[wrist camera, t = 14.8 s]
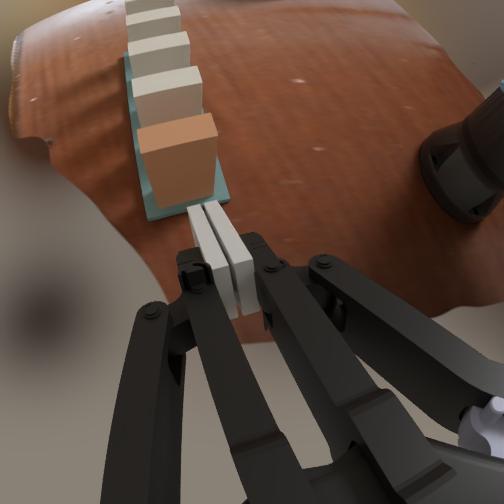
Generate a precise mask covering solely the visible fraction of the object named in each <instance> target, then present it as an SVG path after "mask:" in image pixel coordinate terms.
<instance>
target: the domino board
mask: <svg viewBox="0 0 504 504" xmlns="http://www.w3.org/2000/svg"><path fill="white" fill-rule="evenodd" d="M124 64H125V75H126V85H127V94H128V103H129V111H130V119H131V126H132V134H133V141H134V147H135V154H136V160H137V166H138V172H139V178H140V183H141V189H142V194H143V200H144V205H145V210H146V215H147V219H148V222H149V221H153V220H157V219H161V218H165V217H168V216H172V215H176V214H180V213H184V212H188V211H187V207H189V206H193V205H197V204H200V205H201V207H202V208H204V203H206V202H210V201H214V200H217V201H218V203H219V204H221V203H225V202H229V201H230V196H229V193H228V190H227V186H226V183H225V180H224V177H223V173H222V170H221V167H220V164H219V160H218V157H217V158H216V170H215V184H214V195H212V196H208V197H204V198H200V199H196V200H192V201H188V202H185V203H181V204H177V205H173V206H169V207H165V208H162V209H159V208H158V206H157V203H156V200H155V197H154V194H153V191H152V188H151V185H150V182H149V179H148V175H147V172H146V169H145V166H144V163H143V160H142V156H141V153H140V147H139V141H138V135H137V129H141V126H140V122H139V118H138V114H137V110H136V106H135V101H134V97H133V89H132V81H131V79H133V74H132V69H131V64H130V59H129V52H128V51H127V52H124ZM202 114H204V111H203V108H202Z"/></svg>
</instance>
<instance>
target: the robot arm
mask: <svg viewBox="0 0 504 504" xmlns="http://www.w3.org/2000/svg"><path fill="white" fill-rule="evenodd" d="M420 165H421V170H422V173H423V176H424V179H425V181H426V183H427V186H428V188H429V189H430V191H431V193H432V194H433V196H434V197H435V199H436V200H437V202H438V203H439V204H440V205H441V206H442V207H443V209H444V210H445V211H447V212H448V213H449V214H450V215H451V216H453V217H454V218H456V219H458V220H459V221H462V222H465V223H475V222H477V221H479V220H481V219H483V218H485V217H487V216H488V215H489V214H490V213H491V212H492V211H493V210H494V208H495V207H496V206H497V205H498V203H499V202H500V201H501V199H502V198H503V197H504V80H503V81H502V82H501V83H500V87H499V88H498V89H496V90H495V91H494V92H493V93H492V94H491V95H490V96H489V97H488V98H487V99H486V100H485V101H484V102H482V103H481V104H480V105H479V106H478V107H477V108H476V109H475V110H474V111H473V112H472V113H471V114H470V115H469V116H467V117H466V118H465V119H464V120H463V121H461V122H458V123H455V124H452V125H449V126H446V127H444V128H441V129H438V130H436V131H434V132H433V133H432V134H431V135H430V136H429V137H428V138H427V139H425V141H424V142H423V143H422V146H421V149H420ZM204 207H205V213H206V216H205V214H204V212H203V210H202V207H201V205H200V204H197V205H193V206H189V207H187V211H188V216H189V220H190V225H191V229H192V233H193V238H194V242H195V248H191V249H187V250H183V251H180V252H179V253H178V255H177V257H176V260H177V265H178V270H179V271H178V278H179V281H180V285H181V288H182V294H181V296H180V297H179V298H178V299H177V300H176V301H174V302H173V303H171V304H169V305H167V304H166V303H164V302H161V301H154V302H150V303H147V304H146V305H144V306H142V307H141V308H140V309H139V310H138V312H137V314H136V318H135V322H134V325H133V329H132V333H131V337H130V341H129V345H128V349H127V353H126V358H125V362H124V366H123V371H122V375H121V380H120V384H119V389H118V394H117V399H116V404H115V409H114V414H113V420H112V425H111V431H110V436H109V442H108V449H107V455H106V461H105V468H104V475H103V483H102V492H101V500H100V504H180V484H181V480H180V479H181V478H180V477H181V442H182V418H183V398H184V381H185V380H184V379H185V366H186V352H187V351H189V350H191V349H192V348H194V347H196V346H197V347H198V350H199V354H200V357H201V361H202V364H203V368H204V371H205V374H206V377H207V381H208V384H209V387H210V390H211V394H212V397H213V400H214V403H215V406H216V409H217V412H218V415H219V418H220V421H221V424H222V427H223V430H224V433H225V436H226V439H227V442H228V444H229V447H230V452H231V455H232V458H233V461H234V463H235V467H236V469H237V472H238V475H239V477H240V480H241V482H242V485H243V488H244V490H245V493H246V495H247V499H246V500H245V501H244V502H243V503H242V504H504V364H501V363H498V362H495V361H492V360H489V359H488V358H486V357H485V356H483V355H482V354H481V353H479V352H478V351H476V350H475V349H474V348H472V347H471V346H469V345H468V344H466V343H465V342H464V341H462V340H461V339H459V338H458V337H456V336H455V335H454V334H452V333H450V332H449V331H448V330H446V329H445V328H443V327H442V326H440V325H439V324H438V323H436V322H435V321H433V320H432V319H430V318H429V317H427V316H426V315H424V314H423V313H421V312H420V311H418V310H417V309H415V308H414V307H412V306H411V305H409V304H408V303H406V302H405V301H403V300H402V299H400V298H399V297H397V296H396V295H394V294H393V293H391V292H390V291H388V290H387V289H385V288H384V287H382V286H381V285H379V284H377V283H376V282H374V281H373V280H371V279H370V278H368V277H367V276H365V275H364V274H362V273H360V272H359V271H357V270H356V269H354V268H353V267H351V266H349V265H348V264H346V263H345V262H343V261H341V260H340V259H338V258H337V257H335V256H332V255H328V254H321V255H317V256H314V257H312V258H311V259H310V261H309V266H300V267H293V266H290V265H289V263H288V262H287V261H285V260H283V259H280V258H277V257H276V255H275V254H274V253H273V251H272V250H271V248H270V247H269V246H268V244H267V243H266V242H265V240H264V239H263V238H262V236H261V235H259V234H257V233H255V232H250V233H246V234H242V235H238V233H237V232H236V230H235V229H234V227H233V225H232V224H231V222H230V220H229V219H228V217H227V216H226V214H225V212H224V211H223V209H222V207H221V206H220V204H219V203H218V201H217V200H214V201H210V202H206V203H204ZM234 296H235V297H234ZM235 299H236V301H237V303H238V305H239V308H240V310H241V312H242V314H243V316H244V315H248V314H251V313H254V312H258V311H260V308H259V303H260V305H261V307H262V311H263V319H264V327H265V331H266V330H268V329H267V326H268V328H269V330H270V332H271V334H272V336H273V338H274V340H275V342H276V344H277V346H278V348H279V350H280V352H281V354H282V356H283V357H284V359H285V361H286V364H287V365H288V367H289V369H290V371H291V373H292V375H293V377H294V379H295V381H296V383H297V385H298V387H299V389H300V391H301V393H302V395H303V397H304V399H305V400H306V402H307V404H308V406H309V408H310V410H311V412H312V414H313V416H314V418H315V420H316V422H317V423H318V425H319V427H320V429H321V431H322V433H323V435H324V437H325V439H326V441H327V443H328V445H329V448H330V453H331V457H332V460H333V463H331V464H329V465H324V466H319V467H313V468H306V469H302V468H301V466H300V464H299V462H298V460H297V458H296V456H295V454H294V452H293V450H292V448H291V446H290V444H289V442H288V440H287V438H286V436H285V435H284V434H283V433H282V432H281V431H280V430H279V428H278V426H277V424H276V422H275V420H274V418H273V415H272V413H271V411H270V409H269V407H268V405H267V402H266V400H265V398H264V396H263V394H262V392H261V389H260V387H259V385H258V383H257V381H256V378H255V376H254V374H253V372H252V370H251V367H250V365H249V363H248V360H247V358H246V356H245V354H244V351H243V349H242V346H241V344H240V342H239V340H238V337H237V335H236V333H235V330H234V328H233V326H232V323H231V321H230V320H231V319H234V318H237V317H238V312H237V307H236V302H235ZM339 299H340V300H341V301H342V302H341V301H340V300H339ZM355 354H356V355H357V356H358V357H359V358H360V359H362V360H363V361H364V362H365V363H366V364H367V365H369V366H370V367H371V368H372V369H373V370H374V371H376V372H377V373H378V374H379V375H380V376H382V377H383V378H384V379H385V380H386V381H387V382H389V383H390V384H391V385H392V386H393V387H395V388H396V389H397V390H398V391H399V392H400V393H402V394H403V395H404V396H405V397H406V398H408V399H409V400H410V401H411V402H412V403H413V404H415V405H416V406H417V407H418V408H419V409H421V410H422V411H423V412H424V413H426V414H427V415H428V416H429V417H430V418H431V419H433V420H434V421H435V422H437V423H438V424H440V425H441V426H443V427H444V428H446V429H448V430H450V431H452V432H454V433H456V434H458V436H459V439H458V445H459V447H457V446H454V445H450V444H447V443H444V442H440V441H437V440H434V439H431V438H428V437H425V436H424V435H423V433H422V432H421V430H420V429H419V427H418V426H417V425H416V423H415V422H414V421H413V419H412V418H411V416H410V415H409V413H408V412H407V411H406V409H405V408H404V406H403V405H402V404H401V402H400V401H399V399H398V398H397V397H396V395H395V394H394V393H393V392H392V391H391V390H389V389H380V388H379V387H377V385H376V384H375V382H374V381H373V380H372V378H371V377H370V375H369V374H368V372H367V371H366V370H365V368H364V367H363V365H362V364H361V363H360V361H359V360H358V358H357V357H356V355H355ZM469 449H470V450H469Z"/></svg>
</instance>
